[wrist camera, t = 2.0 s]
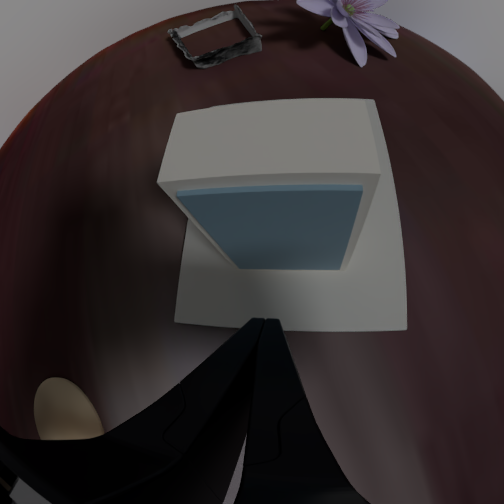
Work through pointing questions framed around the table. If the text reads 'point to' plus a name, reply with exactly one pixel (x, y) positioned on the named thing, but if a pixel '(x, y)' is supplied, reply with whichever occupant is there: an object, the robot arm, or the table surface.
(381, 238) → the mat
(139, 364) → the table surface
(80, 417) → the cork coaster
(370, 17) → the water lily
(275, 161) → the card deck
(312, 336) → the table surface
